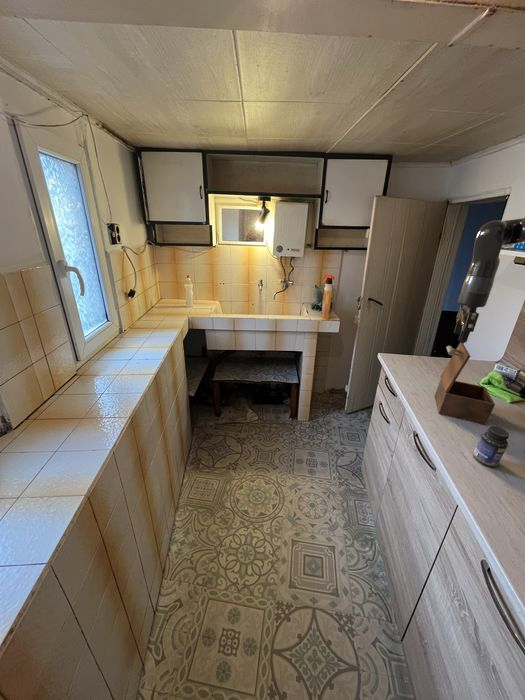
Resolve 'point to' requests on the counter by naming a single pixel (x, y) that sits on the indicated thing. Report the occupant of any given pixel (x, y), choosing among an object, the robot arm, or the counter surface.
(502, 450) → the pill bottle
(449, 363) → the bin lid
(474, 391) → the bin
